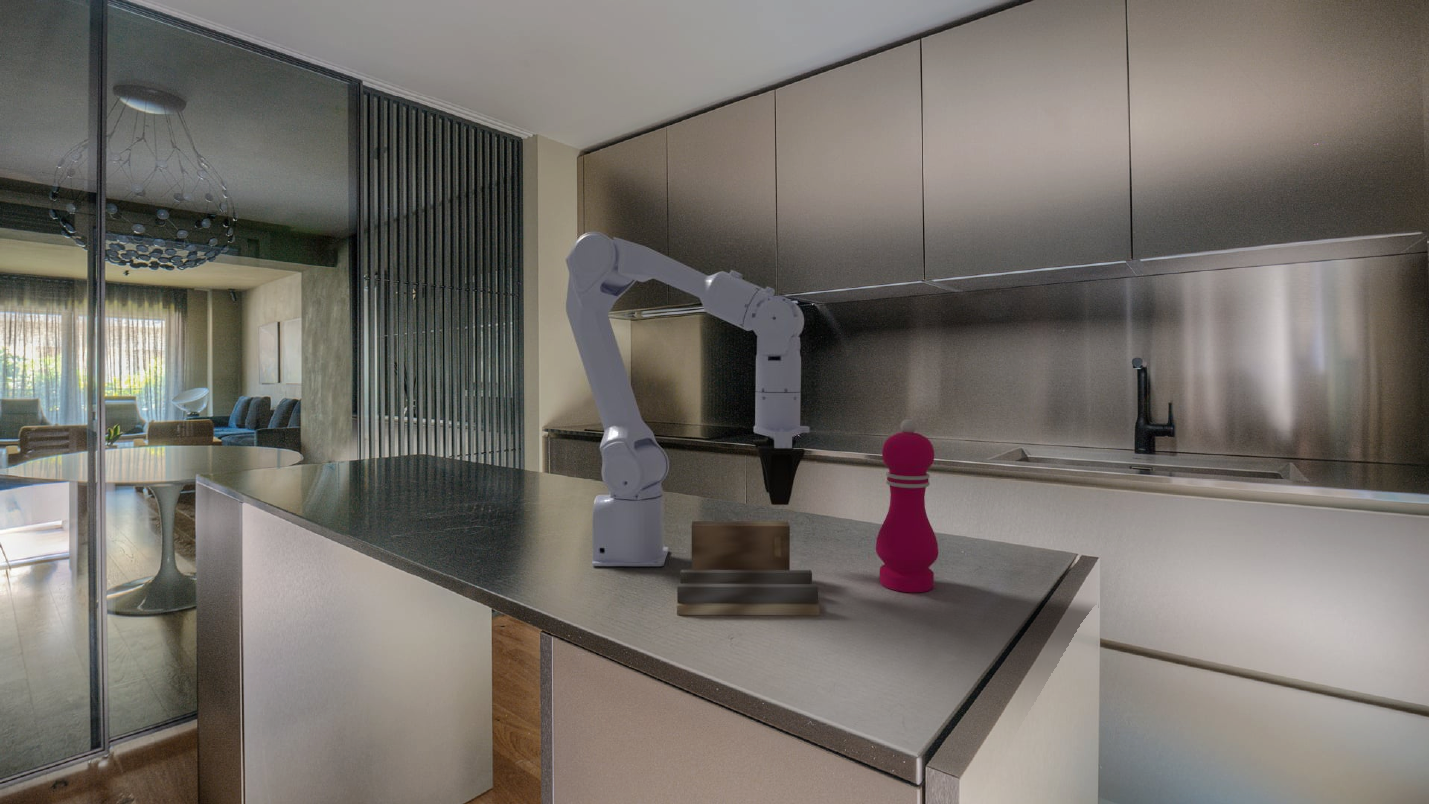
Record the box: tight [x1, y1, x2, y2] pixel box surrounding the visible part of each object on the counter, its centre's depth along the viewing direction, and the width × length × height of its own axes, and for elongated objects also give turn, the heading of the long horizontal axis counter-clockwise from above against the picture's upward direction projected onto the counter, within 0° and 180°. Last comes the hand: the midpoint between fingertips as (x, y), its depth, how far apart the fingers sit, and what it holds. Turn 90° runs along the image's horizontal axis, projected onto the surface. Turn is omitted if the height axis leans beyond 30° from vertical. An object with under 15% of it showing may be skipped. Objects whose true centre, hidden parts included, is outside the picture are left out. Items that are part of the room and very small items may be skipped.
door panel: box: [691, 520, 791, 570], centre depth 78 cm, size 12×3×7 cm, turn 89°
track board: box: [676, 569, 820, 616], centre depth 70 cm, size 15×7×3 cm, turn 89°
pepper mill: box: [875, 418, 939, 594], centre depth 76 cm, size 7×7×20 cm
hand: (776, 498), depth 81 cm, fingers open, 7 cm apart
